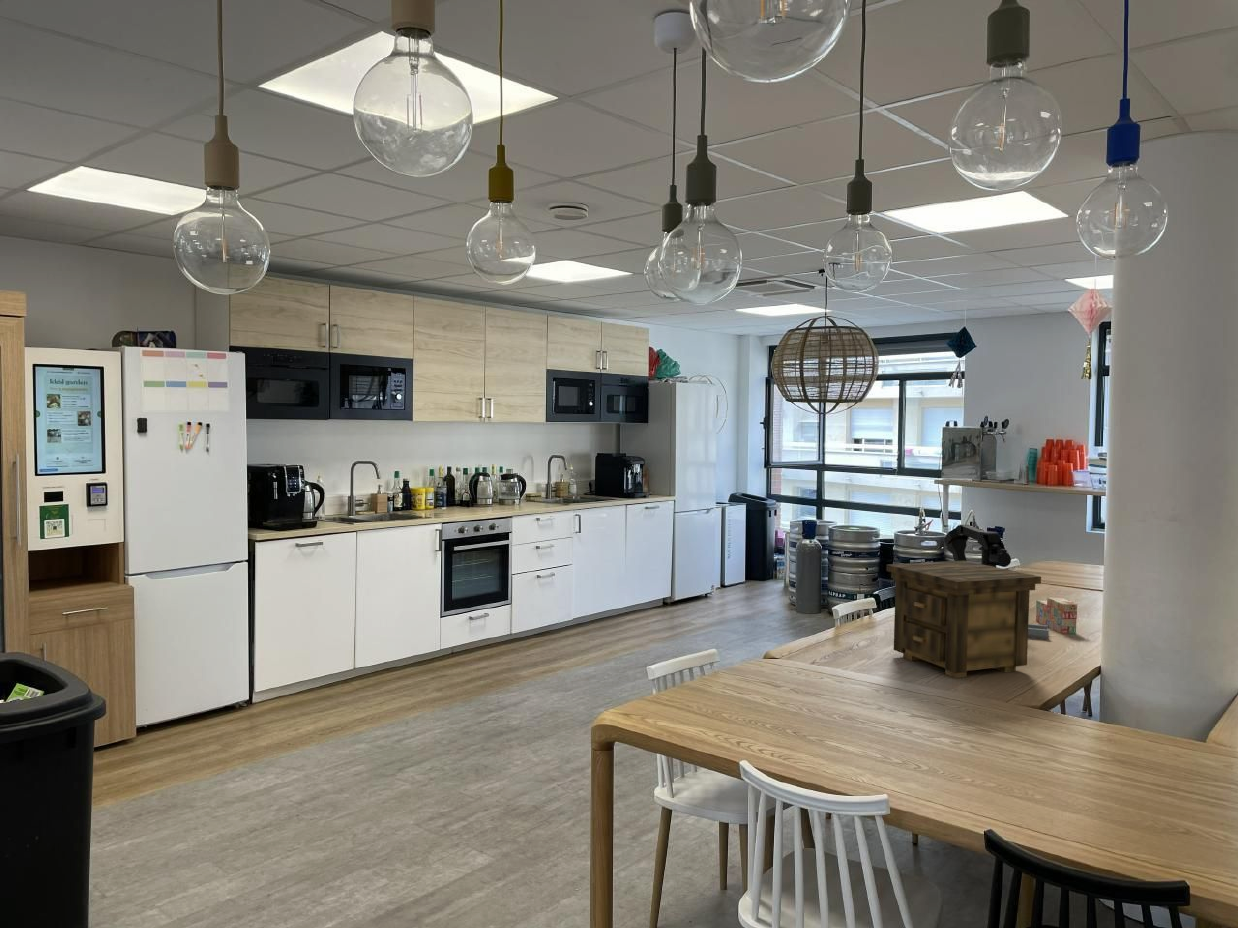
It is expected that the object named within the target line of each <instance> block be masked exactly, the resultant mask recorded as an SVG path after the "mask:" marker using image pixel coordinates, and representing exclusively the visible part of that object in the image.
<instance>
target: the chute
mask: <svg viewBox="0 0 1238 928" xmlns="http://www.w3.org/2000/svg"><path fill="white" fill-rule="evenodd" d="M1049 634H1050V632H1049V629H1048V627H1047V626H1046V625H1042V624H1036V623H1028V639H1029V638H1031V639H1041V640H1049Z"/></svg>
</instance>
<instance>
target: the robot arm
mask: <svg viewBox="0 0 1238 928" xmlns="http://www.w3.org/2000/svg"><path fill="white" fill-rule="evenodd" d="M970 538H971V539H973V540H976V541H977V543H978V544H979V545H980V547H979V548H978V551H981V554H980V555H981V557H980V560H981V561H980V564H983V565H988V566H993V567H997V566H998V567H1001V568H1006V567H1009V565H1010V564H1011V562H1012V558H1011V555H1010V554H1009V553H1007V549H1005V544H1004V542H1003V540H1002V538H1001V535H1000V533H999V532H997V531H987V530H986V531H985V530H982V529H979V528H976V527H974V526H972V525H970V524H957V526H956V527H954V528H953V529H952V530H951V529H950V530H949V531H948V532H947V533H946V534H945V536H944V539H943V540H944V544H945V547H946V550H947V551H949V553H950V554H952V558H953V561H968V560H967V557H966V553H965V551H966V548H967V545H968V544H967V542H968V541H969V540H970Z"/></svg>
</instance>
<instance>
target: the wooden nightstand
mask: <svg viewBox="0 0 1238 928" xmlns="http://www.w3.org/2000/svg"><path fill="white" fill-rule="evenodd" d="M885 568H886V569H885V570H886V572H889V573H890V579H893V580H895V587H894V588H895V589H894V590H895V591H894V593H895V594H894V618H893V619H894V621H893V622H894V623H893V624H894V625H893V651H896V652H898V653H901V654H902V658H904V659H907V660H908V661H911V662H913V661H914V662H915V661H925V662H928V663H930V664H933V665H935V666H938V667H941V668H944V670H945V671H944V674H945V675H948V676H950V677H952V678H965V677H967V672H968V671H977V670H985V669H986V670H987V669H995V670H997V669H998V671H1000V670H1001V671H1000V672H1004V673H1008V672H1010V673H1011V672H1016V671H1017V668H1018V667H1025V666H1026V667H1027V665H1028V649H1029V648H1028V645H1029V640H1028V639H1029V637H1028V624H1029V622H1030V621H1029V620H1030V619H1029V617H1030V616H1029V615H1030V591H1036V585H1039V584H1042V576H1040V575H1034V574H1030V573H1026V572H1022V571H1021V572H1020V571H1017V570H1011V569H1008V568H1007V569H1006V568H1003V567H1001V568H1000V567H997V566H996V567H993V566H988V565H983V564H981V563H977V562H973V561H968V560H967V561H954V560H950V561H949V560H948V561H947V560H946V561H932V562H929V561H928V562H912V563H911V562H908V563H892V564H886V567H885Z"/></svg>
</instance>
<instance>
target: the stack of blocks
mask: <svg viewBox="0 0 1238 928" xmlns="http://www.w3.org/2000/svg"><path fill="white" fill-rule="evenodd" d="M1046 599H1047V600H1042V599H1041V600H1036V602H1035V603H1036V604H1035V608H1036V611H1035V612H1036V613H1035V614H1036V615H1035V622H1037V623H1039V625H1046V626H1047V628H1049V629H1051V630H1053V631H1055V632H1057V633H1058V634H1068V635H1070V634H1071V635H1072V634H1073V635H1075V634H1077V618H1078V603H1076V602H1074V601H1070V600H1068V599H1065V598H1063V597H1047V598H1046Z"/></svg>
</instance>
